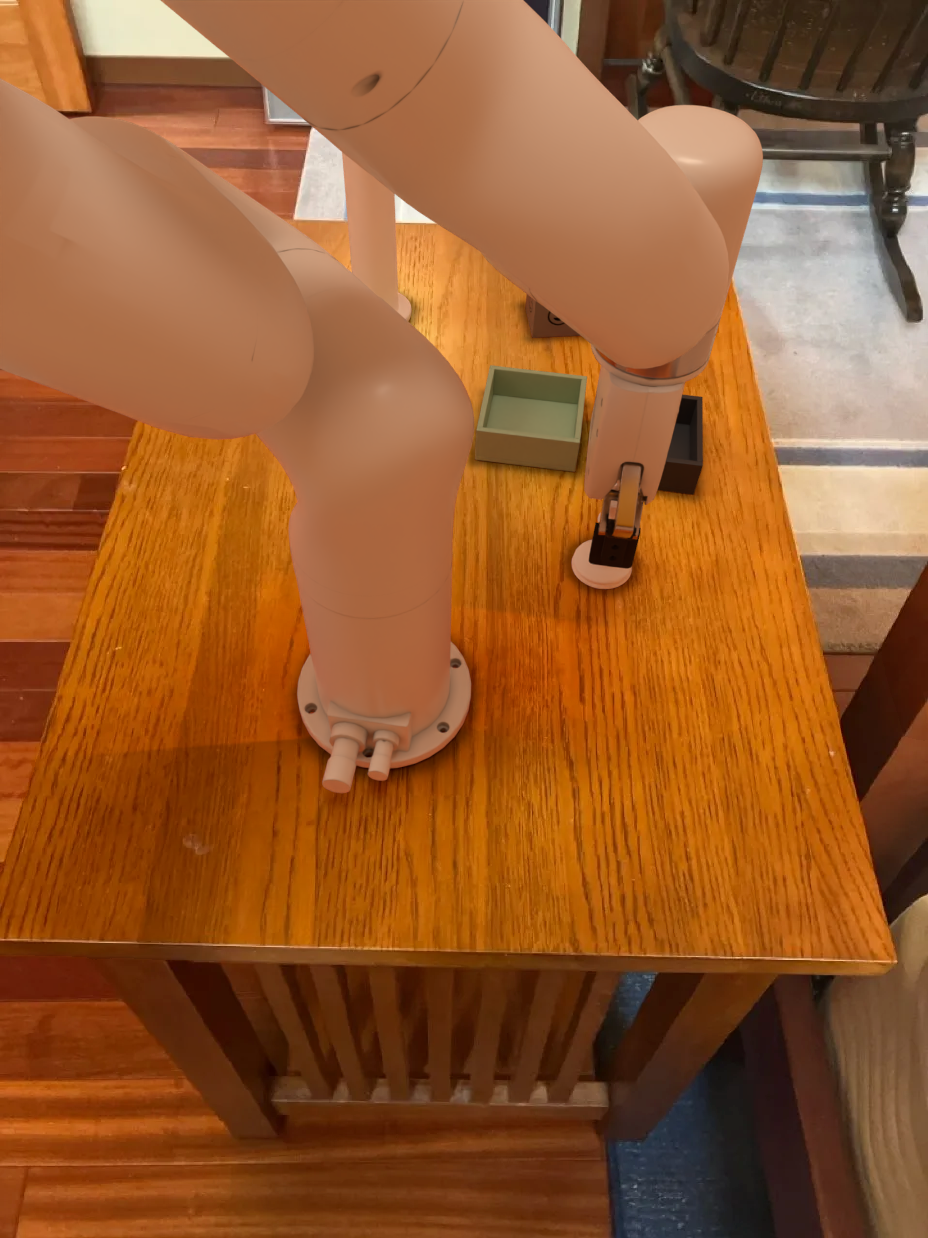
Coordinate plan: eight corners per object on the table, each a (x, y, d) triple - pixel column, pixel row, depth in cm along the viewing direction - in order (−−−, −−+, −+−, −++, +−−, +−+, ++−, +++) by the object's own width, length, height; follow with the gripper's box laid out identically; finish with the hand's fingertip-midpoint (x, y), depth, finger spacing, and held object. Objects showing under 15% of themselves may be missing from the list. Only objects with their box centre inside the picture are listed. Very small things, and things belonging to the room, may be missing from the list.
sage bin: (575, 472, 83) (579, 442, 80) (474, 459, 83) (476, 430, 80) (582, 405, 88) (587, 375, 85) (488, 394, 89) (490, 364, 86)
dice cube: (525, 307, 97) (529, 264, 93) (572, 306, 97) (578, 262, 93) (532, 337, 94) (536, 294, 90) (580, 335, 94) (587, 292, 90)
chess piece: (628, 594, 74) (651, 507, 66) (567, 583, 75) (583, 496, 67) (634, 548, 77) (656, 460, 69) (575, 538, 78) (591, 450, 70)
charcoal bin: (693, 494, 81) (703, 465, 78) (591, 482, 82) (596, 452, 79) (694, 426, 87) (702, 396, 84) (597, 414, 87) (603, 384, 84)
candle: (409, 336, 94) (402, 70, 74) (339, 333, 94) (312, 67, 74) (413, 294, 98) (407, 32, 78) (346, 292, 98) (322, 29, 78)
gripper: (602, 244, 63) (573, 436, 77) (583, 414, 53) (554, 600, 67) (713, 256, 63) (664, 447, 77) (716, 429, 52) (659, 614, 66)
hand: (613, 518), depth 72 cm, fingers open, 8 cm apart
